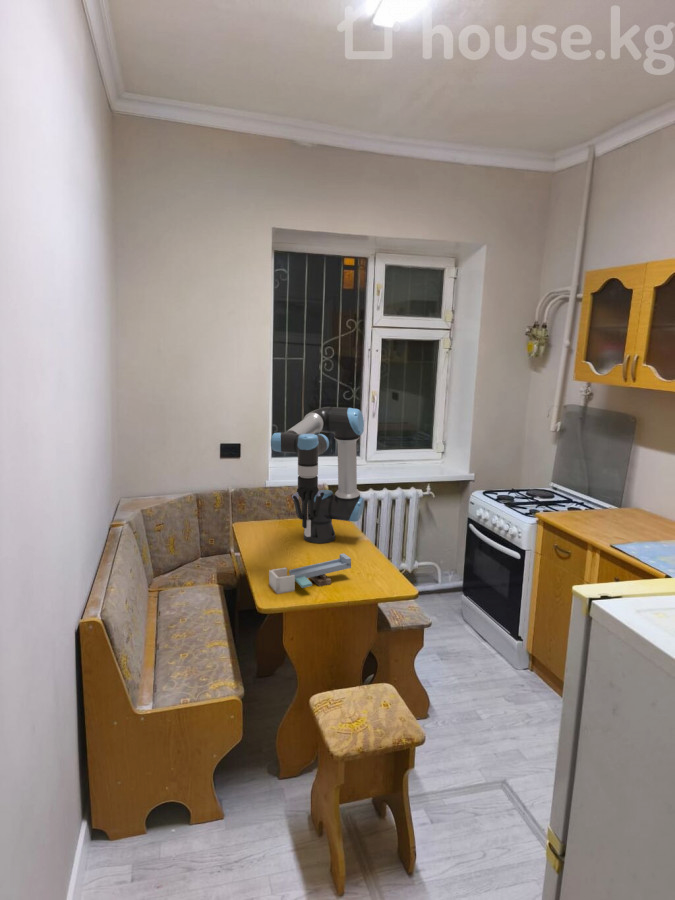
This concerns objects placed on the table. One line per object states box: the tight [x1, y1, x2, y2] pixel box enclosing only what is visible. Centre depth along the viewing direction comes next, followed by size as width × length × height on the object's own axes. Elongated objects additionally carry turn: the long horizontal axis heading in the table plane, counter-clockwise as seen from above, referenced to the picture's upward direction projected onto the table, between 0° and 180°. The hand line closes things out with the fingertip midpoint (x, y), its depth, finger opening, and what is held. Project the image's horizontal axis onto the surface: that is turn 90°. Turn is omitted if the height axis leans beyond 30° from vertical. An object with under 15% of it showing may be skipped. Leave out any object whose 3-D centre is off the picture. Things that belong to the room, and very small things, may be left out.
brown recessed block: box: [309, 574, 332, 587], centre depth 229 cm, size 5×9×4 cm, turn 26°
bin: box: [268, 567, 296, 595], centre depth 222 cm, size 7×9×6 cm
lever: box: [288, 553, 352, 589], centre depth 225 cm, size 24×13×4 cm, turn 116°
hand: (307, 535), depth 222 cm, fingers closed
